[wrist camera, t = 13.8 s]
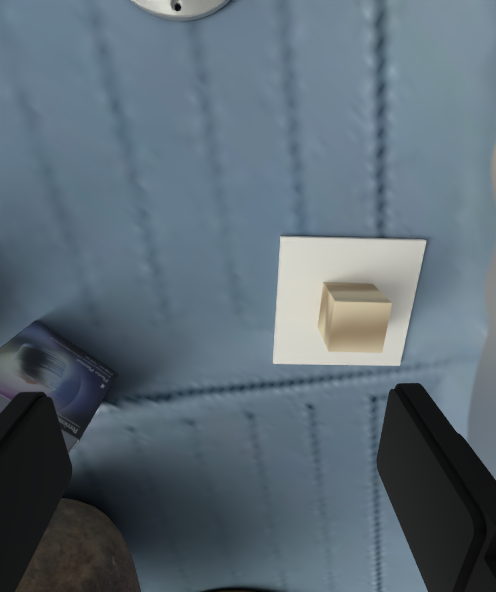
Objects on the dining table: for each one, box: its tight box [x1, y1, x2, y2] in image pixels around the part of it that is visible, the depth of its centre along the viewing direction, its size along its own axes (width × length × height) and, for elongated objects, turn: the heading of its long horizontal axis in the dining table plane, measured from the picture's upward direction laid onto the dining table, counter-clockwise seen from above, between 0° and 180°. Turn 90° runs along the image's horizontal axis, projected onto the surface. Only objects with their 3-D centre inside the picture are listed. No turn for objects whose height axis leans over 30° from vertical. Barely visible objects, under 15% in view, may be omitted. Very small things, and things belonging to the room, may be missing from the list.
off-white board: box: [273, 236, 426, 366], centre depth 37 cm, size 14×14×1 cm
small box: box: [0, 321, 117, 454], centre depth 35 cm, size 11×6×10 cm, turn 49°
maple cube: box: [318, 282, 392, 353], centre depth 34 cm, size 5×5×5 cm
